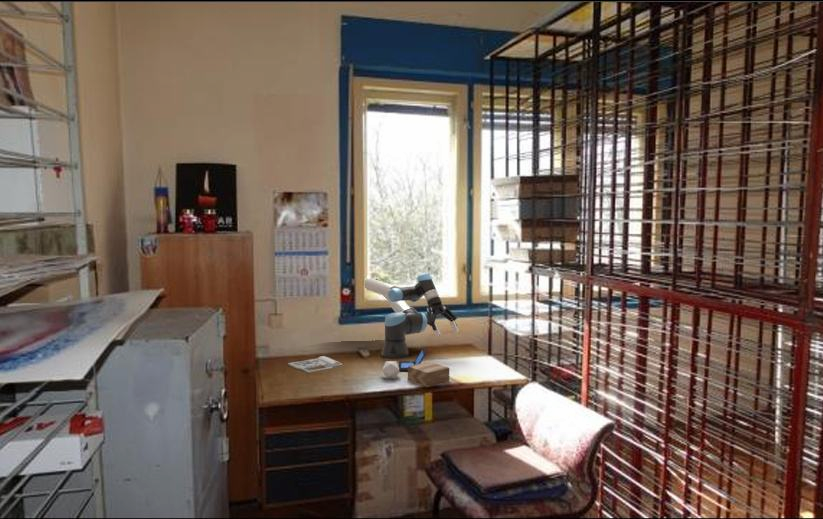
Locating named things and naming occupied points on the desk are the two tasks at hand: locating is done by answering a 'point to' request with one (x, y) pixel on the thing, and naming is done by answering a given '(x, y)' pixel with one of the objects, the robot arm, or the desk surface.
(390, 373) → the die
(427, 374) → the walnut block
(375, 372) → the desk surface
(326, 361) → the office telephone
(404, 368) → the handheld game console
